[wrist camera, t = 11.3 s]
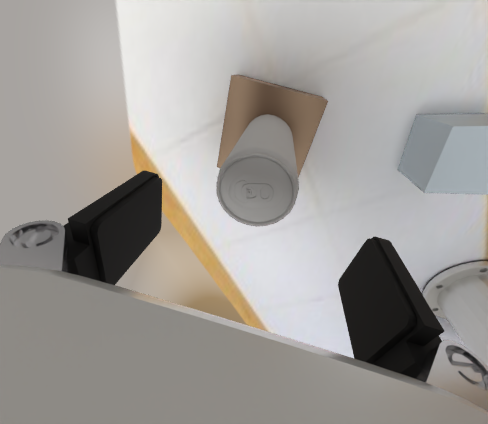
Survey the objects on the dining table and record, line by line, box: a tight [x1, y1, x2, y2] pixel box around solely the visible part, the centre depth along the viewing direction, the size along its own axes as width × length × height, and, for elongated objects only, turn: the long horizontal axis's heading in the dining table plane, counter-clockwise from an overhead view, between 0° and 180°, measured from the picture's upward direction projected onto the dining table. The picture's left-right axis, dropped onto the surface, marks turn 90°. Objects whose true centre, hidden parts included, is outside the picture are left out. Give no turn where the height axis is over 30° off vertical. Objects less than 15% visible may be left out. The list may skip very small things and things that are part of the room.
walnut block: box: [217, 75, 328, 177], centre depth 24 cm, size 9×9×4 cm
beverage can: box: [217, 114, 299, 226], centre depth 17 cm, size 5×5×12 cm
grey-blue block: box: [398, 113, 488, 195], centre depth 22 cm, size 6×6×6 cm
